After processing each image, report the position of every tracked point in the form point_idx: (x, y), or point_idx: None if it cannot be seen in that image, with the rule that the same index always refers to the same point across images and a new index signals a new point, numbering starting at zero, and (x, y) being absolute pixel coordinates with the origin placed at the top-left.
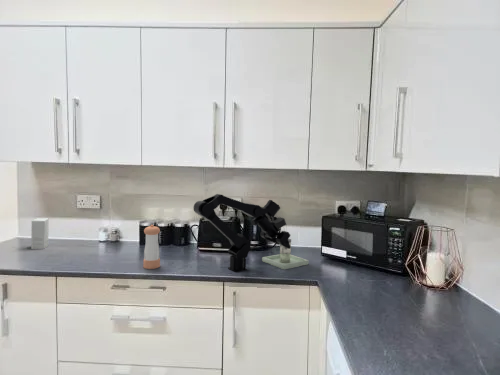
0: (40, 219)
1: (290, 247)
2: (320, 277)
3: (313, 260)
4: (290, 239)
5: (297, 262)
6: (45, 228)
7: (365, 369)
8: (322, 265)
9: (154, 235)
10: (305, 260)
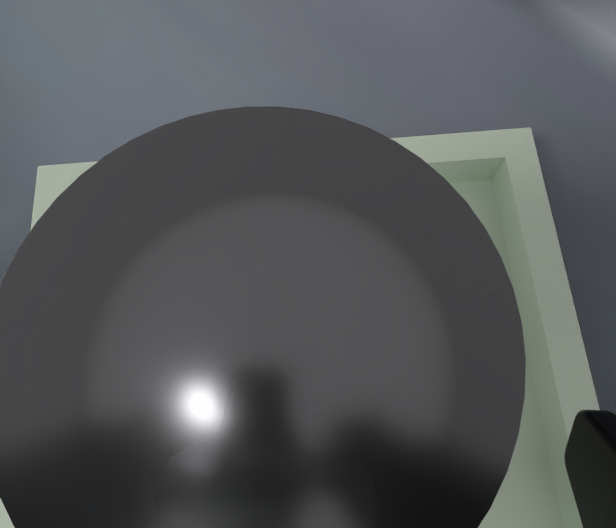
0: None
1: (607, 421)
2: None
3: (378, 5)
4: (330, 132)
5: (583, 355)
6: None
7: None
8: (606, 44)
9: None
10: (519, 169)
